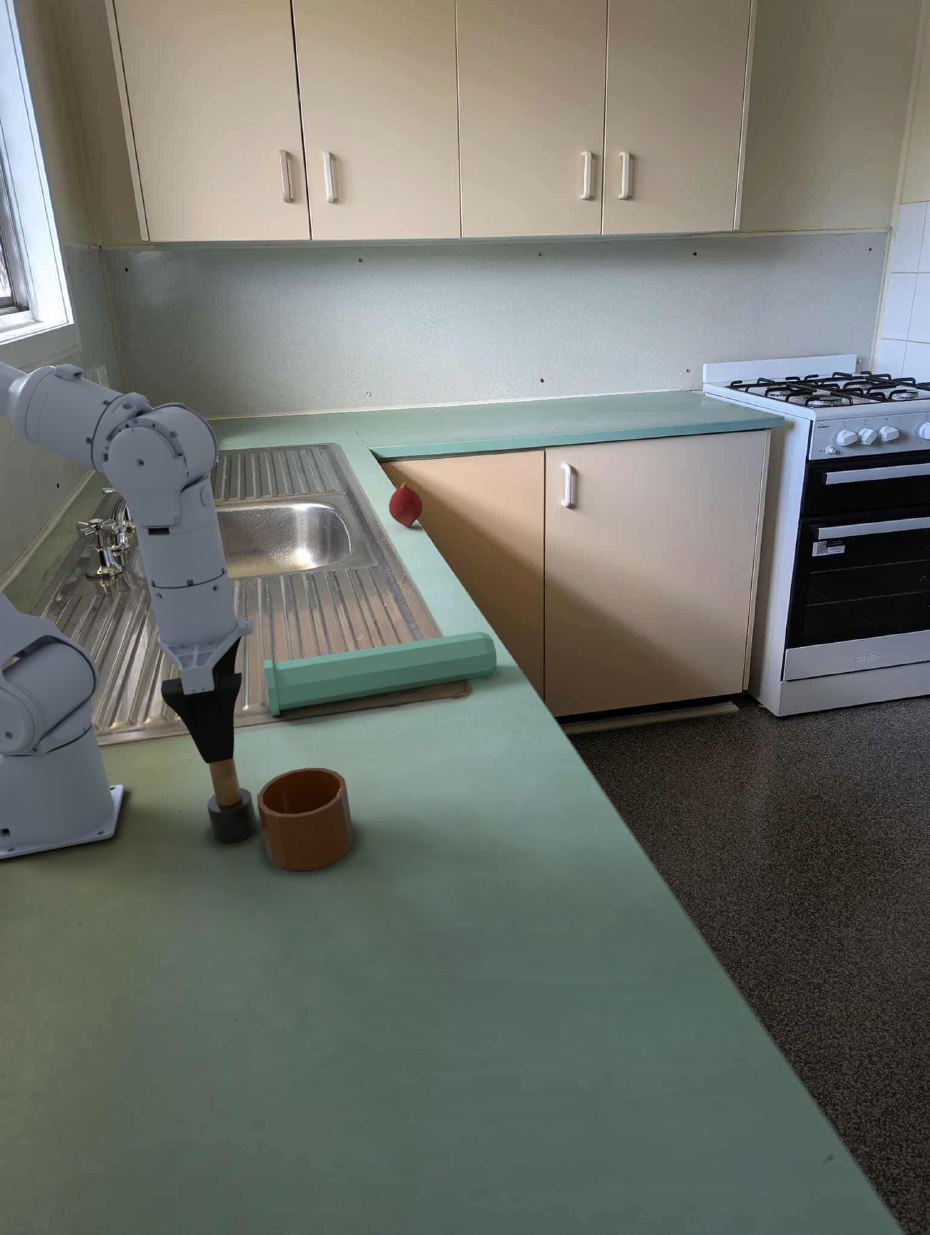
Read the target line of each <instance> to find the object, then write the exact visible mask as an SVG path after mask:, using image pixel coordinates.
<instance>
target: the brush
mask: <svg viewBox="0 0 930 1235" xmlns="http://www.w3.org/2000/svg"><path fill="white" fill-rule="evenodd" d="M208 768H209V774H210V777H211V782H212V787H213V791H214V792H213V793H214V794H213V795H211V796H210V797H209V799H208V800H207V802H206V808H207V812H208V818H209V822H210V826H211V831H212V836H213V837H214V839H215V840H216V841H218V842H219V843H223V844H233V843H238V842H239V843H240V842H242V841H244V840H246V839H248V838H249V837H251V836H252V835H253V834H254V833H255V832H257V828H258V821H257V816H256V812H255V807H254V802H253V796H252V792H250V790H248V789H247V788H243V787H240V783H239V782H240V781H239V778H238V772H237V767H236V763H235V758H234V756H233V758H232V759H230V760H224V761H219V762H213V763H208Z"/></svg>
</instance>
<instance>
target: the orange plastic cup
mask: <svg viewBox="0 0 930 1235" xmlns="http://www.w3.org/2000/svg"><path fill="white" fill-rule="evenodd" d="M256 801H257V802H256V803H257V810H258V816H259V820H260V823H261V830H262V835H263V839H264V846H265V852H266V853H267V857H268V859H269V860H270V861H271V862H272V864H273V865H275V866H276V867H278V868H280V869H283V870H287V871H292V872H293V871H294V872H305V871H306V872H307V871H314V870H318V869H321V868H324V867H327V866H329V865H332V864H333V863H336V862H337V861H338V860H340V859H341V858H342V857H344V856H345V855H346V854H347V853H348V851H350V849H351V847H352V845H353V842H354V830H353V824H352V816H351V809H350V802H349V795H348V789H347V783H346V779H345V778H344V777H343V776H342V775H341V773H339V772H337V771H335V770H332V769H328V768H325V767H303V768H298V769H292V770H289V771H286V772H284V773H282V774H278V775H276V776H274V777H273V778H272V779H271V780H269V781H268V782H266V783H265V784H264V785H263V786H262V787H261V789H260V790H259V791H258V793H257V796H256Z"/></svg>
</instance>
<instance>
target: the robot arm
mask: <svg viewBox="0 0 930 1235" xmlns="http://www.w3.org/2000/svg"><path fill="white" fill-rule="evenodd" d="M84 374H85V371H84V369H83V368H81V367H79V366H76V365H73V364H71V363H64V364H59V365H56V366H52V365H45V366H42V367H39V368H37V369H35V370H33V371H31V372H29V373H27V372H24V371H22V370H19V369H18V368H15V367H13V366H10V365H8V364H6V363H4V362H2V361H0V417H2V418H7V419H9V420H10V422H11V424H12V426H13V429H14V431H15V433H16V435H17V436H18V438H19V439H20V440H21V441H22V442H23V443H25V444H27V445H30V446H32V447H35V448H38V449H41V450H42V451H45V452H48V453H51V454H53V455H55V456H58V457H61V458H63V459H66V460H68V461H70V462H74V463H75V464H78V465H81V466H83V467H86V468H88V469H91V470H94V471H96V472H99V473H101V474H104V475H105V477H106V478H107V481H108V482H109V483H110V485H111V486H112V487H113V488H114V490H115V491H116V492H118V494H120V496H122V498H123V499H124V500H125V502H126V504H127V508H128V513H129V516H130V520H133V523H134V527H135V532H136V536H137V540H138V545H139V550H140V554H141V558H142V562H143V563H142V564H143V568H144V572H145V577H146V581H147V586H148V590H149V594H150V599H151V603H152V608H153V612H154V616H155V622H156V626H157V630H158V635H157V643H158V647H159V649H160V651H162V653H163V654H164V655H165V656H166V657H167V658H168V659H169V661H170V662H171V663H172V664H173V665H174V666H175V667H176V668H177V670H178V671H179V675H180V677H177V678H171V679H165V680H162V682H161V687H160V694H161V698H162V699H163V701H164V703H165V704H166V705H167V706H168V707H169V708H170V709H172V711H173V712H175V714H176V715H177V716H178V717H179V718H180V720H181V721H182V723H183V724H184V726H185V727H186V729H187V731H188V732H189V734H190V736H191V739H192V741H193V743H194V744H195V747H196V749H197V750H198V753H199V755H200V757H201V758H202V760H203V761H204V763H205V764H208V763H213V762H219V761H224V760H230V759H232V758H233V757H234V753H235V708H236V704H237V703H236V702H237V699H238V696H239V694H240V690H241V686H242V683H243V672H235V671H236V659H237V654H238V649H239V646H240V644H241V639H242V637H244V636H249V635H250V636H251V635H252V634H253V633H254V630H255V629H254V628H255V627H254V622H253V618H251V617H244V618H243V617H242V618H237V616H236V615H237V614H236V610H235V604H234V599H233V594H232V589H231V584H230V578H229V573H228V572H229V571H228V567H227V562H226V556H225V551H224V546H223V545H224V544H223V539H222V534H221V528H220V524H219V519H218V513H217V509H216V504H215V498H214V494H213V493H214V492H213V487H212V483H211V478H210V476H209V474H210V473H211V472H212V470H213V469H214V468H215V466H216V463H217V460H218V456H219V444H218V439H217V436H216V433H215V431H214V430H213V427H212V426H211V425H210V423H209V421H207V420H206V418H204V416H202V415H201V414H200V413H198V412H197V411H195V410H193V409H191V408H190V407H188V406H187V405H186V404H185V403H183V402H167V403H164V404H161V405H158V406H156V407H152V406H151V405H150V404H149V403H147V397H146V396H145V395H143V394H140V393H138V392H135V391H132V392H129V393H126V394H124V393H121V392H119V391H116V390H114V389H112V388H109V387H107V386H104V385H101V384H99V383H96V382H93V381H91V380H89V379H86V378H84ZM10 658H16V659H17V660H15V661H14V662H12V663H10V665H8V666H6V667H5V668H4V669H3V667H4V664H5V663H6V662H7V661H8V659H10ZM100 677H101V676H100V671H99V667H98V665H97V662H96V661H95V659H94V657H93V656H92V655H91V654H90V652H89V651H88V650H86V648H84V647H83V646H82V645H81V644H79V643H77V642H75V641H73V640H72V639H70V638H69V637H67V636H66V635H65V634H64V633H63V632H61V630H60V629H59V628H58V627H57V625H56V624H55V623H54V621H52V620H50V619H47V618H44V617H41V616H36V615H32V614H27V613H23V612H20V611H18V609H17V608H16V607H15V606H14V605H13V603H12V602H11V601H10V599H8V597H7V595H6V594H5V593H4V591H2V590H1V589H0V860H3V859H8V858H13V857H19V856H24V855H29V854H34V853H39V852H45V851H51V850H55V849H61V848H66V847H71V846H72V847H73V846H77V845H82V844H87V843H92V842H98V841H102V840H103V841H104V840H108V839H110V838H112V837H113V836H114V835H115V831H116V827H117V823H118V818H119V815H120V811H121V807H122V806H121V805H122V802H123V798H124V794H125V786H124V785H123V784H117V785H110V783H109V780H108V776H107V773H106V768H105V765H104V761H103V758H102V754H101V750H100V745H99V742H98V739H97V734H96V732H95V728H94V724H93V721H92V720H93V719H92V716H91V715H92V713H93V712H94V708H93V703H92V700H91V699H92V698H93V697H94V696H95V695H96V693H97V692H98V690H99V686H100V680H101V678H100ZM208 765H209V764H208Z"/></svg>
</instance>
